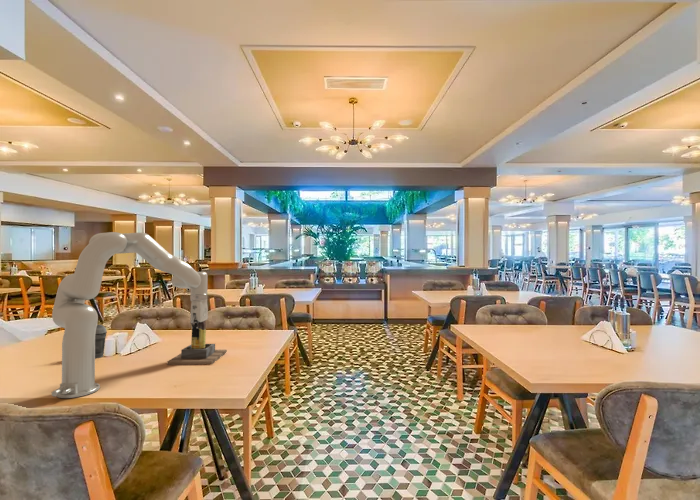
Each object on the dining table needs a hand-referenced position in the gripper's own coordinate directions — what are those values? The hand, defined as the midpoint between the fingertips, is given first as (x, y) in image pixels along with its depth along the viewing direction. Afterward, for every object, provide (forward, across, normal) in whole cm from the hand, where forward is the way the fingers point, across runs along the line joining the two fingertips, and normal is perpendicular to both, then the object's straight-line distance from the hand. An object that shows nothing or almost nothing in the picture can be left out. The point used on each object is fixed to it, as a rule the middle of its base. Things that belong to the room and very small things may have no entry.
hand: (198, 334), depth 171 cm
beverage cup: (+11, +3, +50) cm, 51 cm away
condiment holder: (+11, 0, 0) cm, 11 cm away
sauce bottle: (+8, 0, 0) cm, 8 cm away
